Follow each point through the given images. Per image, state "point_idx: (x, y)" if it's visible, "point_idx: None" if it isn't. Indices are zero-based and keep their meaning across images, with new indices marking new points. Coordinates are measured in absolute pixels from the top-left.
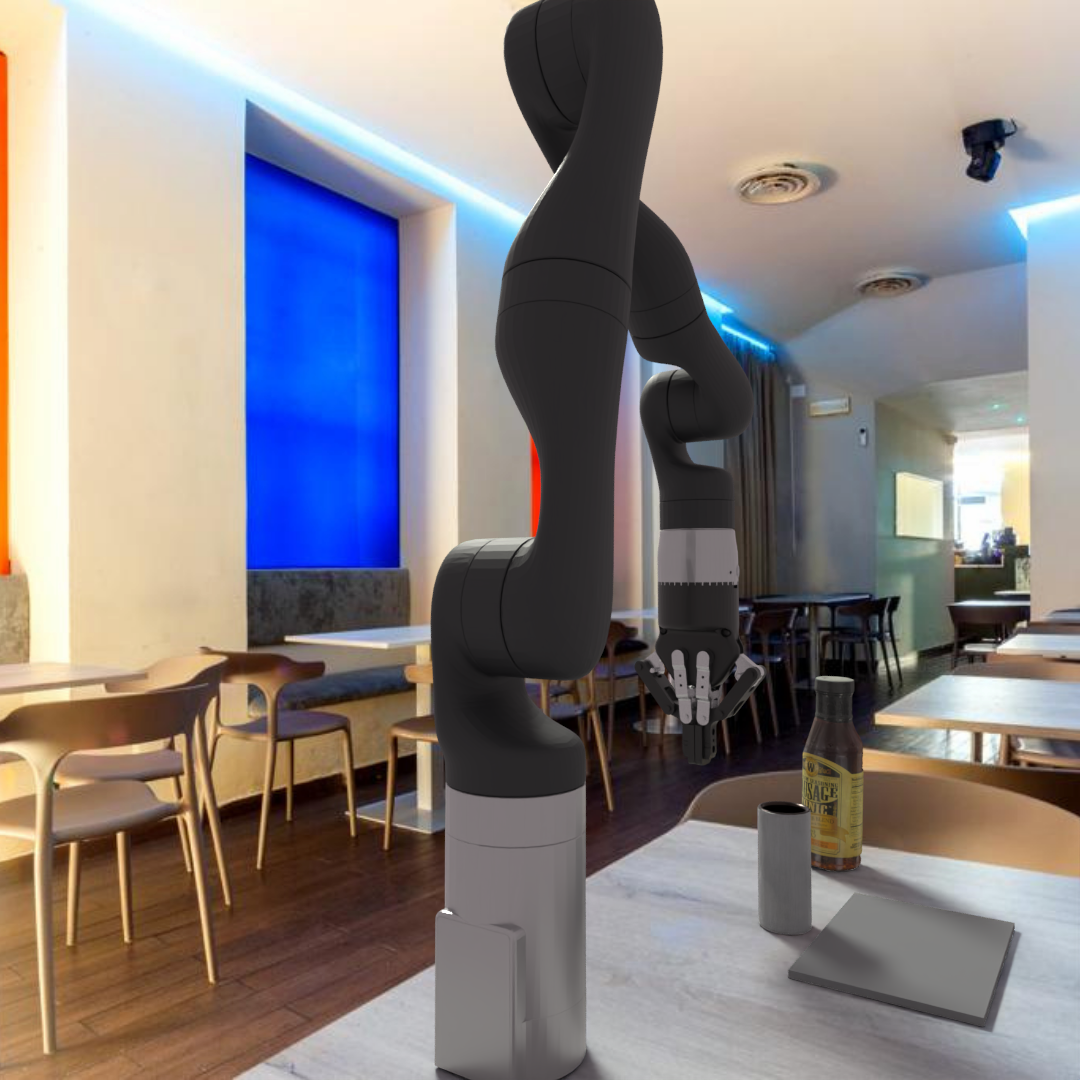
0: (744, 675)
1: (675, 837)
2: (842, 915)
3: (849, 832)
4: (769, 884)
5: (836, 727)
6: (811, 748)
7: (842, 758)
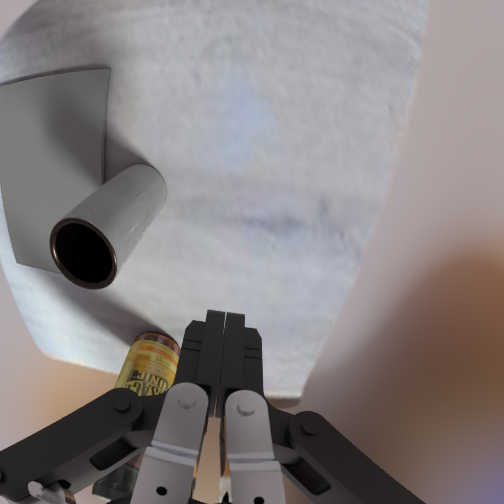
0: (14, 481)
1: (307, 364)
2: None
3: (127, 359)
4: (130, 180)
5: None
6: None
7: None
